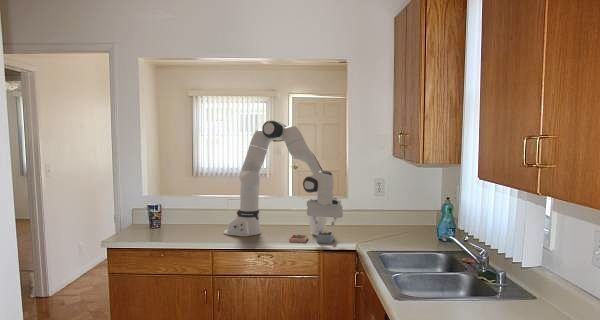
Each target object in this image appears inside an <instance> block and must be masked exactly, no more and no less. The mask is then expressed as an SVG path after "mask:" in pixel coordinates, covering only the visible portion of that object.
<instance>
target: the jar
mask: <svg viewBox="0 0 600 320" xmlns="http://www.w3.org/2000/svg"><path fill="white" fill-rule="evenodd" d="M315 219H316V220H317V221H318V224H315V221H314V219H313V216H308V223H309V228H310V231H311V232H310V234H311V235H314V236H317V234H318V232H319V231H325V230H326V224H327V217H318V216H316V218H315Z"/></svg>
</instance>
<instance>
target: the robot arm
mask: <svg viewBox="0 0 600 320" xmlns="http://www.w3.org/2000/svg"><path fill="white" fill-rule="evenodd" d="M302 134H303V133H302V132H301V131H300V130H299V128H298V127H297V126H296V125H288V126H287V125H285V124H284V123H282V122H280V121H275V120H266V121H265V122H264V123H263V125H262V127H261V129H256V130H255V132H254V134H253V135H252V137H251V140H250V142H249V146H248V149H247V153H246V155H245V156H246V157H245V159H244V162H243V164H242V167H241V170H240V173H239V180H240V196H239V198H240V199H239V203H240V204H239V209H238V210H237V211H236V214H237V215H236V216H235V217H234V218H233V219H231V220H230V221H229V222H228V225H227V229H226V228H225V230H224V231H223V234H224V235H228V236H237V237H249V236H250V237H251V236H257V235H259V234H262V231H261V225H260V209H259V206H260V205H259V203H260V202H259V200H260V199H259V195H260V172H261V170H262V167H263V165H264V163H265V159H266V155H267V153H268V152H267V151H268V149H269V145H270V143H271V142H273V143H274V142H284V144H285V146H286V148H287V151H288V153H289V154H290V156H291V157H292V158H294V159H295V160H299V161H301V162H304V163H305V164H306V165H307V166H308V168H309V170H310V171H311V173H312V175H309V176H306V177H305V178H304V179H303V181H302V187H303V190H304V191H305V192H306V193H309V194H313V193H317V195H316V196H317V197H316V199H308V200H307V201H306V207H307V209H306V215H307V217H309V216H313V219H314V221H315V224H318V221H317V220H316V219H315V218H316V216H318V217H326V218H333V221H331V226H335V223H336V221H337V219H342V218H343V217H344V209H343V204H342V199H340V198H337V197H336V196H334V192H333V191H334V186H335V183H334V175H333V173H332V172H331V171H328V170H323V168H322V167H321V165H320V162H319V161H318V159H317V157H316V156H315V154H314V152H312V151H311V149H310V147H309V146H308V144H307V143H306V141H305V137H304V136H303V135H302Z"/></svg>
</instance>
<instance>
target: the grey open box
mask: <svg viewBox="0 0 600 320" xmlns="http://www.w3.org/2000/svg"><path fill="white" fill-rule="evenodd" d="M321 232H322V231H319V232H318V234H317V235H316V243H317V244H332V243H333V242H334V231H328V232H329V235H321Z"/></svg>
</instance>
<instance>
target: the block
mask: <svg viewBox="0 0 600 320" xmlns="http://www.w3.org/2000/svg"><path fill="white" fill-rule="evenodd" d="M329 232H330V231H325V230H324V231H322V232H321V235H329Z"/></svg>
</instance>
